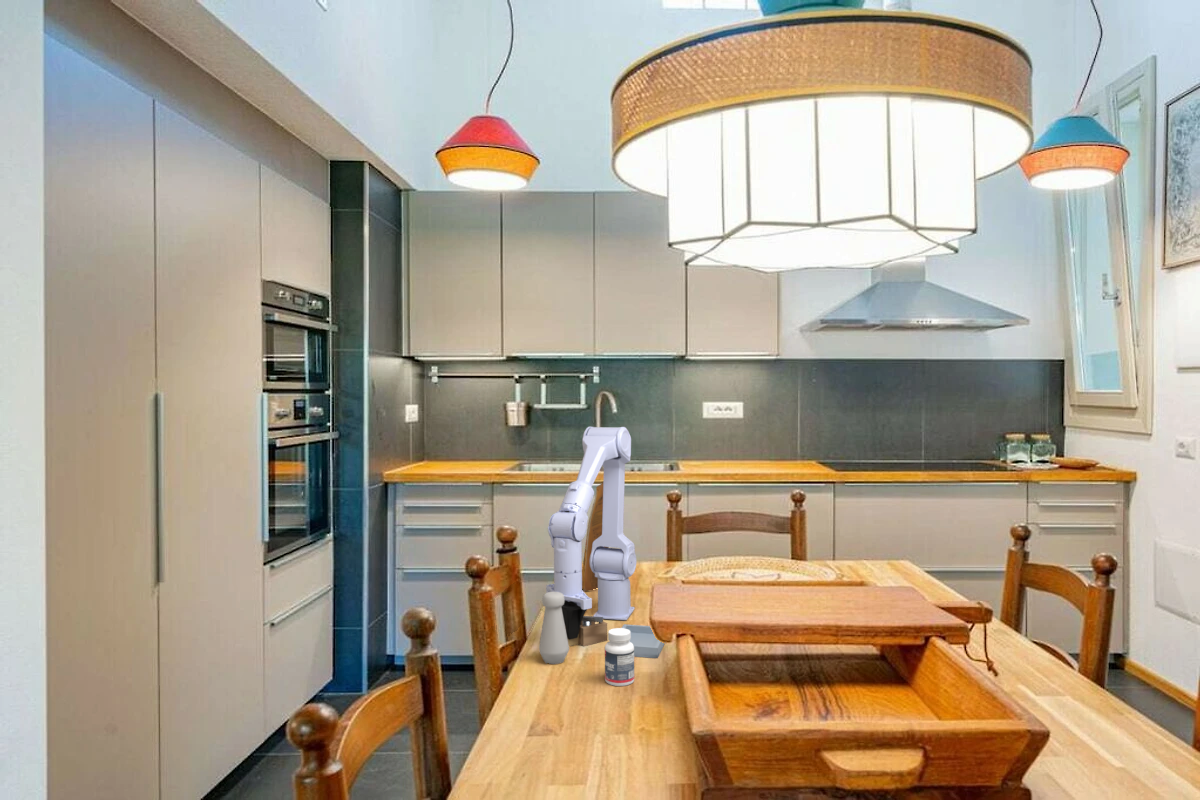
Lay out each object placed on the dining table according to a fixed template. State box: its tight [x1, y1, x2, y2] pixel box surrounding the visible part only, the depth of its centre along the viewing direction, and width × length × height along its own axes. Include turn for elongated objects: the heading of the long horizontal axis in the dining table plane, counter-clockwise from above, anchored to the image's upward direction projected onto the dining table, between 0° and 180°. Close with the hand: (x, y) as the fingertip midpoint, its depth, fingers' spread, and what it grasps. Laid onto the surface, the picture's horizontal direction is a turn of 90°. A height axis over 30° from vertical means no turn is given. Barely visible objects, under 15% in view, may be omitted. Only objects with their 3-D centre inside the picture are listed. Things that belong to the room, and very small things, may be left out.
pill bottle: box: [604, 627, 635, 687], centre depth 129 cm, size 5×5×9 cm
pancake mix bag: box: [582, 482, 610, 592], centre depth 196 cm, size 7×19×28 cm, turn 163°
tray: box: [621, 623, 665, 659], centre depth 147 cm, size 13×10×2 cm
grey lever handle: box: [582, 615, 604, 626], centre depth 150 cm, size 3×5×5 cm, turn 76°
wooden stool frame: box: [565, 621, 608, 647], centre depth 150 cm, size 9×6×4 cm, turn 125°
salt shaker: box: [538, 592, 570, 665], centre depth 139 cm, size 6×6×13 cm
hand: (568, 636), depth 148 cm, fingers closed on wooden stool frame, 2 cm apart
